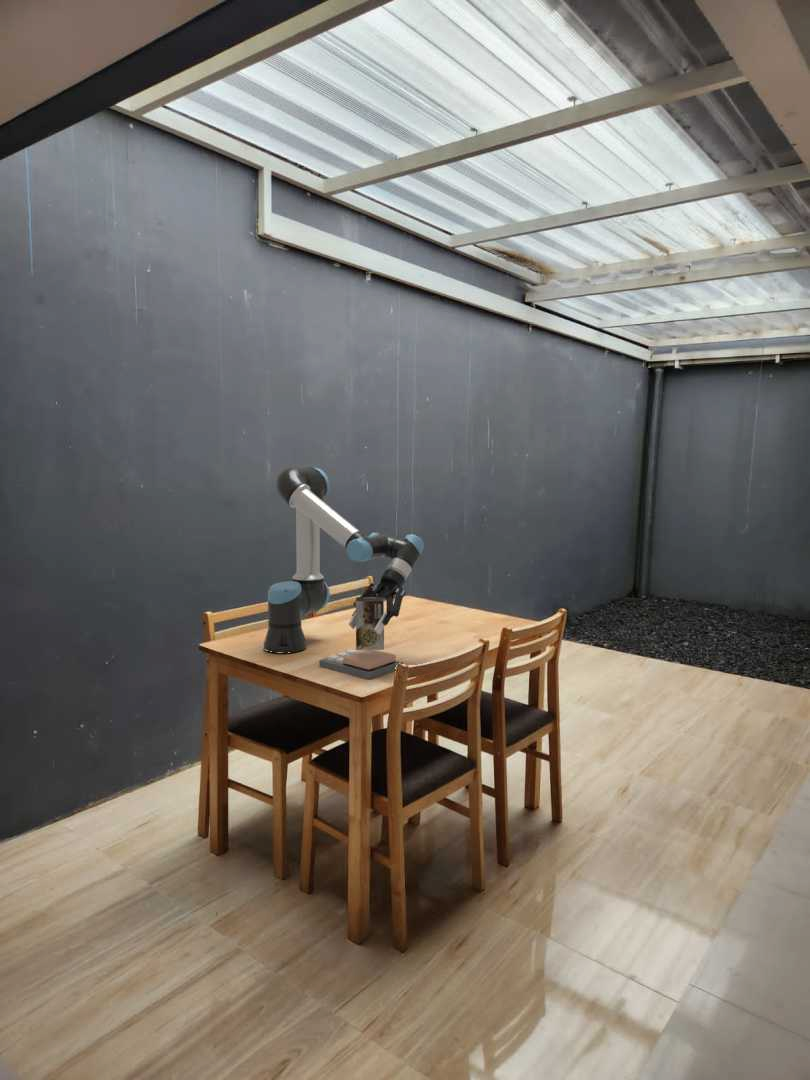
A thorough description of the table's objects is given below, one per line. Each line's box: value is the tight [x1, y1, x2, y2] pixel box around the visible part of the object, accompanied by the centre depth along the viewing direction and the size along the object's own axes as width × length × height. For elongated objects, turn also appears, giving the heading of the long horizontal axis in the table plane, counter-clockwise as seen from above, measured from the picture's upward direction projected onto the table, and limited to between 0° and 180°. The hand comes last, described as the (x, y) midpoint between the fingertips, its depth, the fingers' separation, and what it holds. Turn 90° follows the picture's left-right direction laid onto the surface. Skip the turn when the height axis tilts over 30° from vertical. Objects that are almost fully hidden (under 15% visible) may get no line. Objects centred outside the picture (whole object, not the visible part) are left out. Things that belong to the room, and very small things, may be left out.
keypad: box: [318, 649, 403, 681], centre depth 226 cm, size 22×16×3 cm
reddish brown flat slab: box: [343, 650, 397, 670], centre depth 223 cm, size 11×13×2 cm
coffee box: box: [355, 596, 385, 651], centre depth 222 cm, size 9×6×16 cm
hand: (363, 629), depth 220 cm, fingers closed on coffee box, 10 cm apart
